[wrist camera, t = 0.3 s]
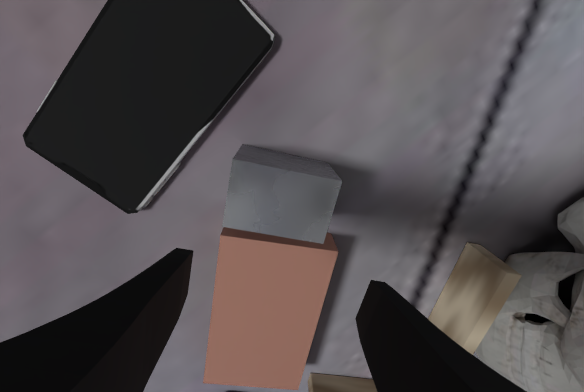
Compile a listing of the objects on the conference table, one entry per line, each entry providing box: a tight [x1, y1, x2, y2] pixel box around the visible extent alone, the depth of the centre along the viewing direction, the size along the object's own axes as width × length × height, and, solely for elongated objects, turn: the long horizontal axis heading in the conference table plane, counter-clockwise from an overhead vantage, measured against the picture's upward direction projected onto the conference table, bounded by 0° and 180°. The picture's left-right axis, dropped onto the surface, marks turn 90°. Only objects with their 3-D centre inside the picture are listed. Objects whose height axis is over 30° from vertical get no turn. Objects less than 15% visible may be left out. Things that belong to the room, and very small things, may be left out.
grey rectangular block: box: [222, 144, 342, 244], centre depth 17 cm, size 4×6×4 cm, turn 77°
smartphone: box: [23, 0, 275, 214], centre depth 16 cm, size 8×1×15 cm
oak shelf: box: [308, 242, 522, 392], centre depth 22 cm, size 18×10×4 cm, turn 167°
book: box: [203, 227, 338, 390], centre depth 22 cm, size 14×8×3 cm, turn 169°
